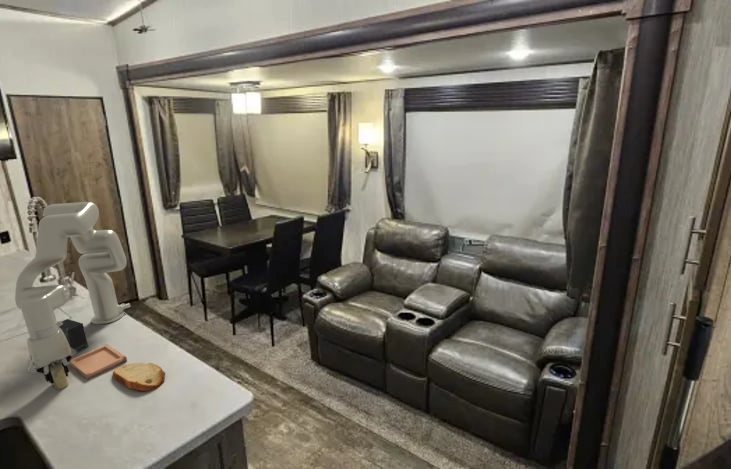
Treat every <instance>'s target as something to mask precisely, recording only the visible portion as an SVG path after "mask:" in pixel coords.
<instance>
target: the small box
mask: <svg viewBox="0 0 731 469" xmlns="http://www.w3.org/2000/svg"><path fill="white" fill-rule="evenodd" d="M61 321H62V322H63V325H61V326H60V327H59V328H61V330H62V331H63V333H64V335H65V337H66V339H67V341H68V344H69V346H70V347H71V348H73V349H75V350H76V351H77V352H76V353H78V352H80V351H83V350H84V349H86V348H89V342H88V339H87V335H86V332H85V328H84V323H82V322H80V321H77V320H72V319H69V318H67V319H64V320H61Z"/></svg>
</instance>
